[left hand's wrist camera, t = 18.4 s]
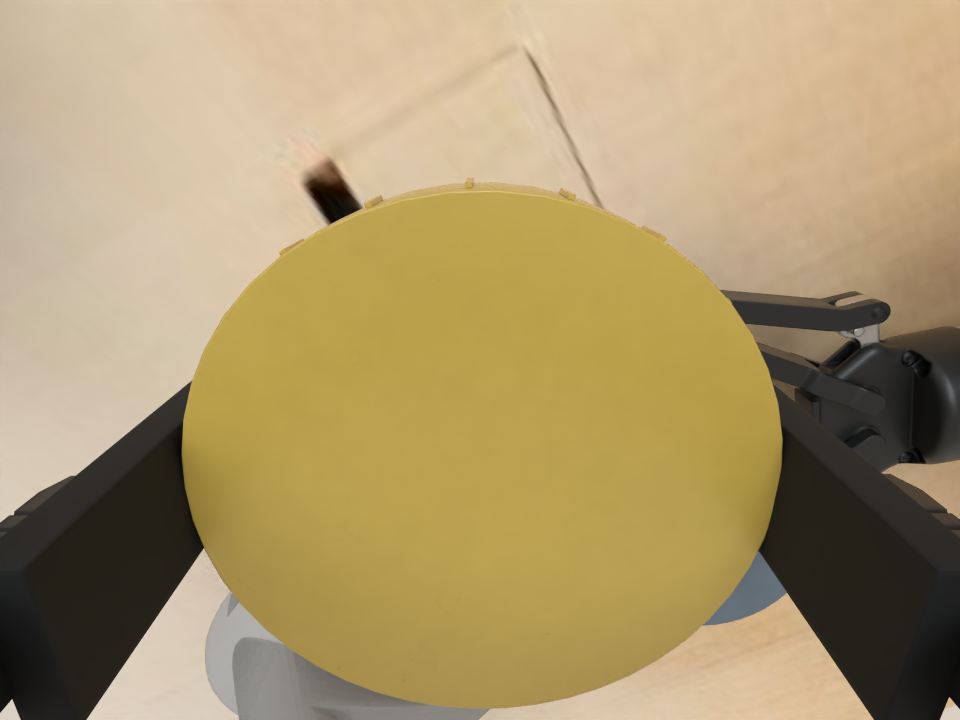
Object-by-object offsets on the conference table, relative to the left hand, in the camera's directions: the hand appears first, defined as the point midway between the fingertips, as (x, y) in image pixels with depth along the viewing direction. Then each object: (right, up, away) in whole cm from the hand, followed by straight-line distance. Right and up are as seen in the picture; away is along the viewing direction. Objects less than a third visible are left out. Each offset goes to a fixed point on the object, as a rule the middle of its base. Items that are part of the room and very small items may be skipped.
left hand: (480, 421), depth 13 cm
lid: (0, -1, -3) cm, 3 cm away
